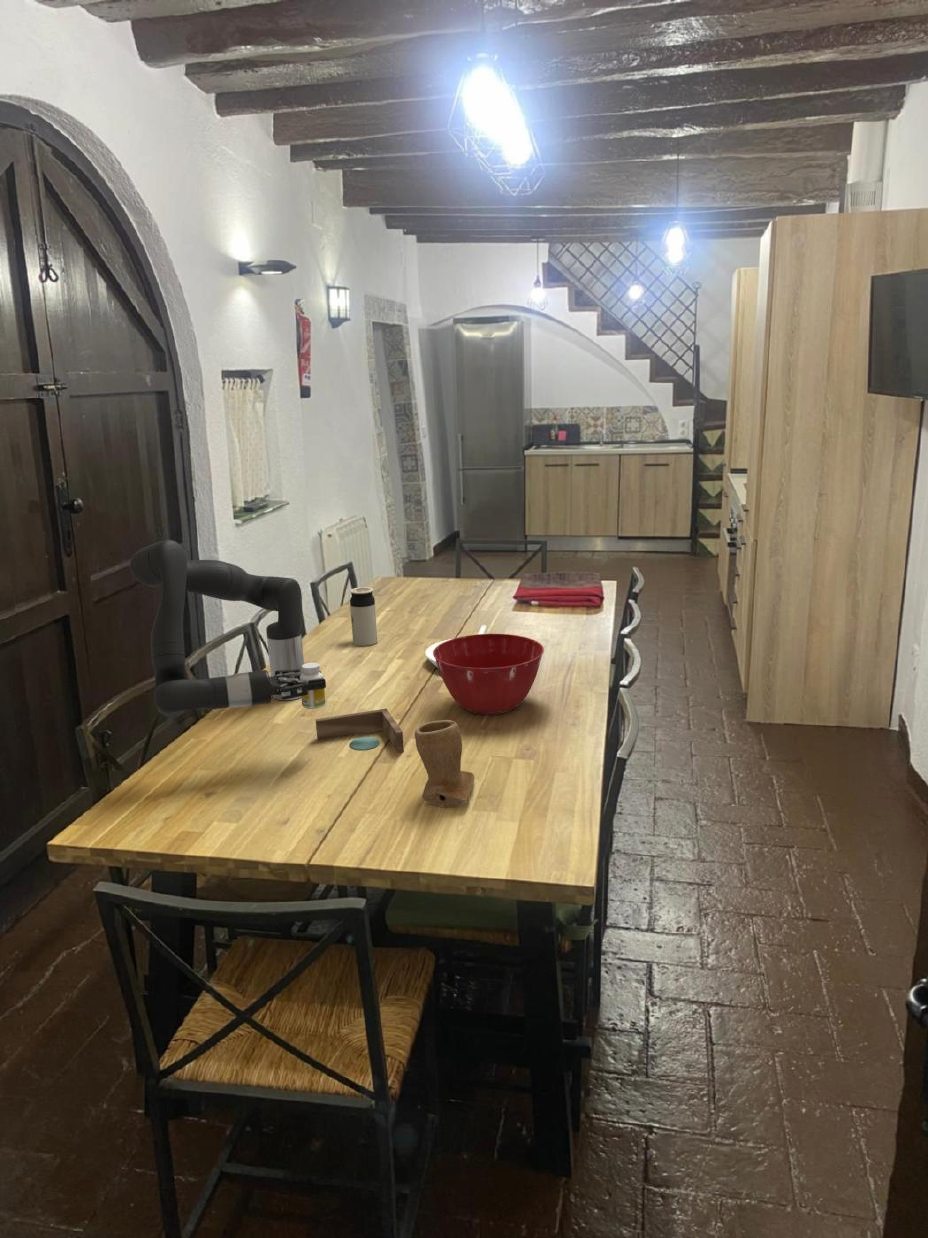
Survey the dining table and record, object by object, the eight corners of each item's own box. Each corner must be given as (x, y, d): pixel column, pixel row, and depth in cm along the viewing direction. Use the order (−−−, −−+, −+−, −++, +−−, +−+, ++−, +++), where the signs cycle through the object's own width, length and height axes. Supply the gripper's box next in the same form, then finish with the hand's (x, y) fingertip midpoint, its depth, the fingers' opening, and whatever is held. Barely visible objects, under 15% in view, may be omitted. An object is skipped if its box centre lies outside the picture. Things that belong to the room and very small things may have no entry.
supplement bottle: (327, 700, 209) (323, 661, 206) (324, 709, 203) (320, 668, 201) (303, 701, 209) (300, 662, 206) (300, 710, 203) (296, 669, 201)
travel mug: (379, 639, 296) (376, 586, 291) (374, 646, 289) (371, 592, 284) (356, 639, 297) (352, 586, 292) (350, 646, 289) (346, 592, 285)
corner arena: (317, 738, 217) (315, 719, 215) (387, 727, 222) (386, 708, 220) (328, 764, 202) (327, 743, 201) (403, 751, 207) (402, 731, 206)
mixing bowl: (537, 728, 218) (536, 668, 214) (424, 723, 223) (420, 664, 219) (550, 688, 244) (549, 634, 240) (448, 685, 250) (446, 632, 246)
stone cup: (424, 776, 194) (421, 711, 190) (479, 779, 192) (476, 713, 188) (408, 809, 180) (403, 739, 176) (466, 812, 178) (463, 742, 174)
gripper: (249, 683, 193) (327, 673, 198) (243, 663, 206) (317, 654, 211) (252, 715, 195) (330, 704, 200) (247, 694, 208) (319, 684, 213)
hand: (323, 679), depth 205 cm, fingers closed on supplement bottle, 5 cm apart
